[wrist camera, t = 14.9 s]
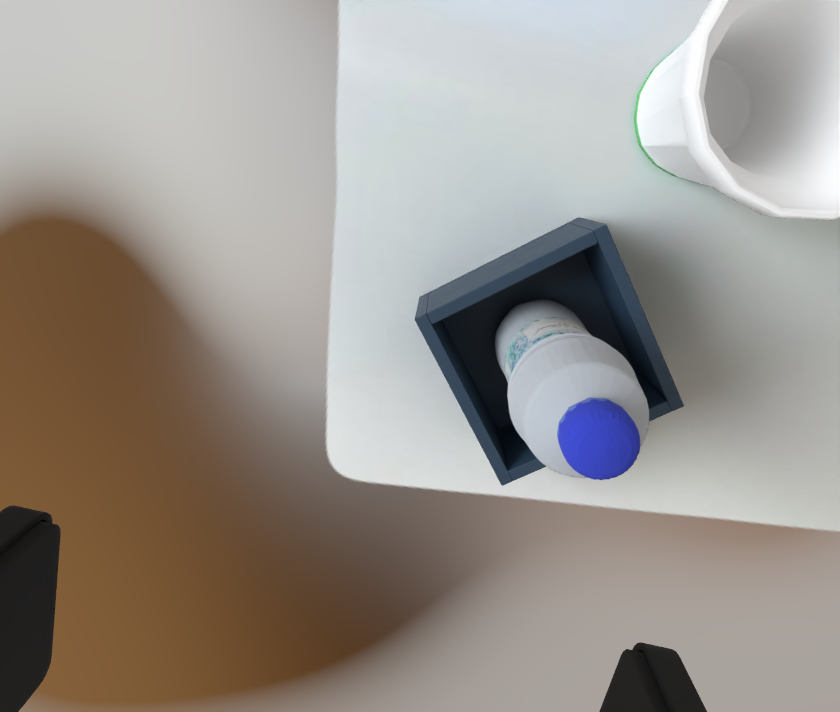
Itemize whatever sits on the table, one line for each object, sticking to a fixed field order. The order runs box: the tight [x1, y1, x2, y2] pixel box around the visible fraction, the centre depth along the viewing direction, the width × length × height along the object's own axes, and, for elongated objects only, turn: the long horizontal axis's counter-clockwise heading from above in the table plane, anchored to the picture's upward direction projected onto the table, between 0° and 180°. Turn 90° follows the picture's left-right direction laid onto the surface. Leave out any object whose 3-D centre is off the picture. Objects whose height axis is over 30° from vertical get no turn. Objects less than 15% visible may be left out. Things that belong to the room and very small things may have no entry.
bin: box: [415, 218, 684, 485], centre depth 42 cm, size 13×13×8 cm
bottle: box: [495, 299, 649, 480], centre depth 35 cm, size 7×7×20 cm
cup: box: [635, 0, 840, 221], centre depth 34 cm, size 12×12×15 cm
